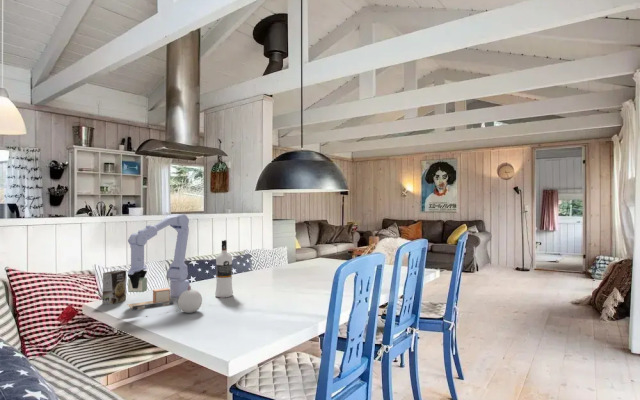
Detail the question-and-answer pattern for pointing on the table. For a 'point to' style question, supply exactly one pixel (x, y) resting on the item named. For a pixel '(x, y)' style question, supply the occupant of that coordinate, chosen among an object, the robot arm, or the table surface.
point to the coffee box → (114, 287)
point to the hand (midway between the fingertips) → (137, 287)
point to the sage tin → (141, 286)
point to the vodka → (224, 273)
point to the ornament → (190, 300)
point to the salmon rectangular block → (161, 295)
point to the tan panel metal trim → (148, 304)
